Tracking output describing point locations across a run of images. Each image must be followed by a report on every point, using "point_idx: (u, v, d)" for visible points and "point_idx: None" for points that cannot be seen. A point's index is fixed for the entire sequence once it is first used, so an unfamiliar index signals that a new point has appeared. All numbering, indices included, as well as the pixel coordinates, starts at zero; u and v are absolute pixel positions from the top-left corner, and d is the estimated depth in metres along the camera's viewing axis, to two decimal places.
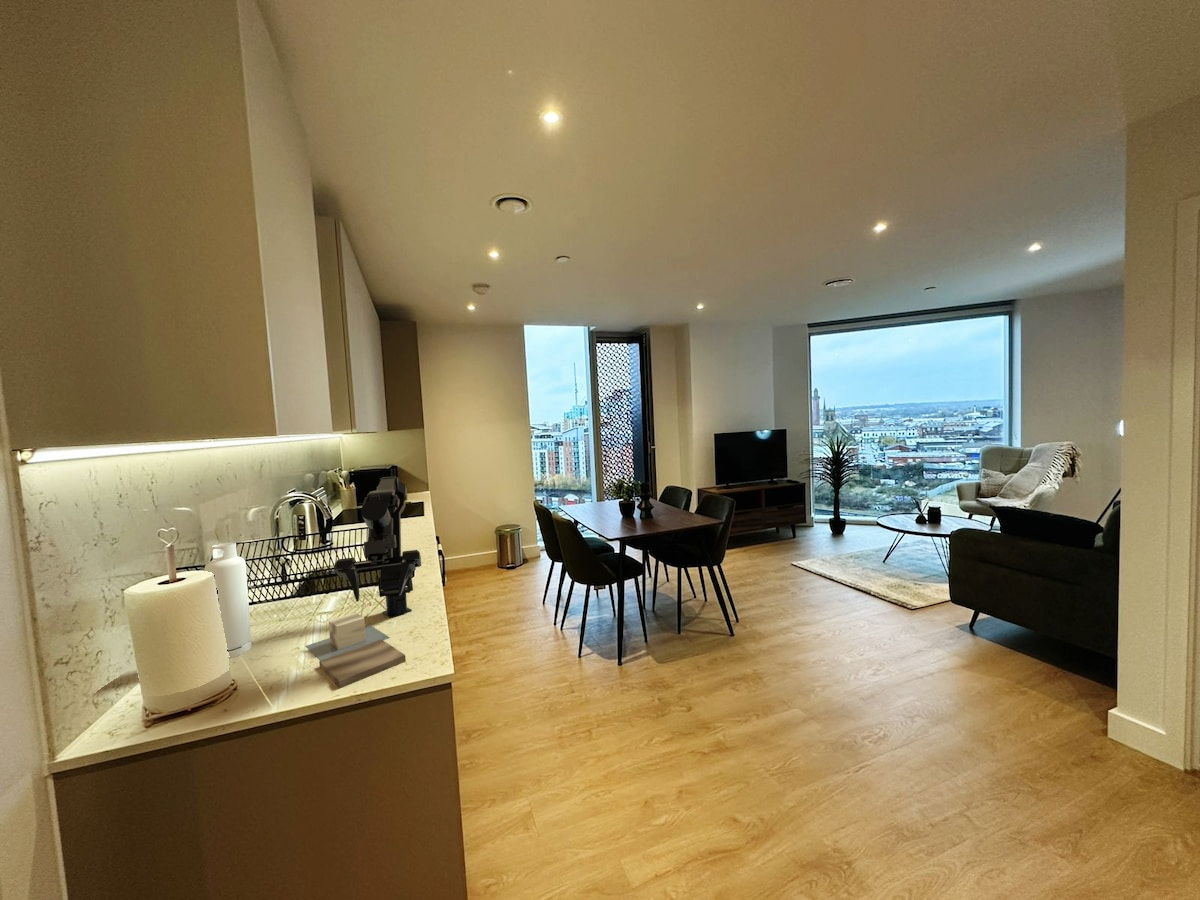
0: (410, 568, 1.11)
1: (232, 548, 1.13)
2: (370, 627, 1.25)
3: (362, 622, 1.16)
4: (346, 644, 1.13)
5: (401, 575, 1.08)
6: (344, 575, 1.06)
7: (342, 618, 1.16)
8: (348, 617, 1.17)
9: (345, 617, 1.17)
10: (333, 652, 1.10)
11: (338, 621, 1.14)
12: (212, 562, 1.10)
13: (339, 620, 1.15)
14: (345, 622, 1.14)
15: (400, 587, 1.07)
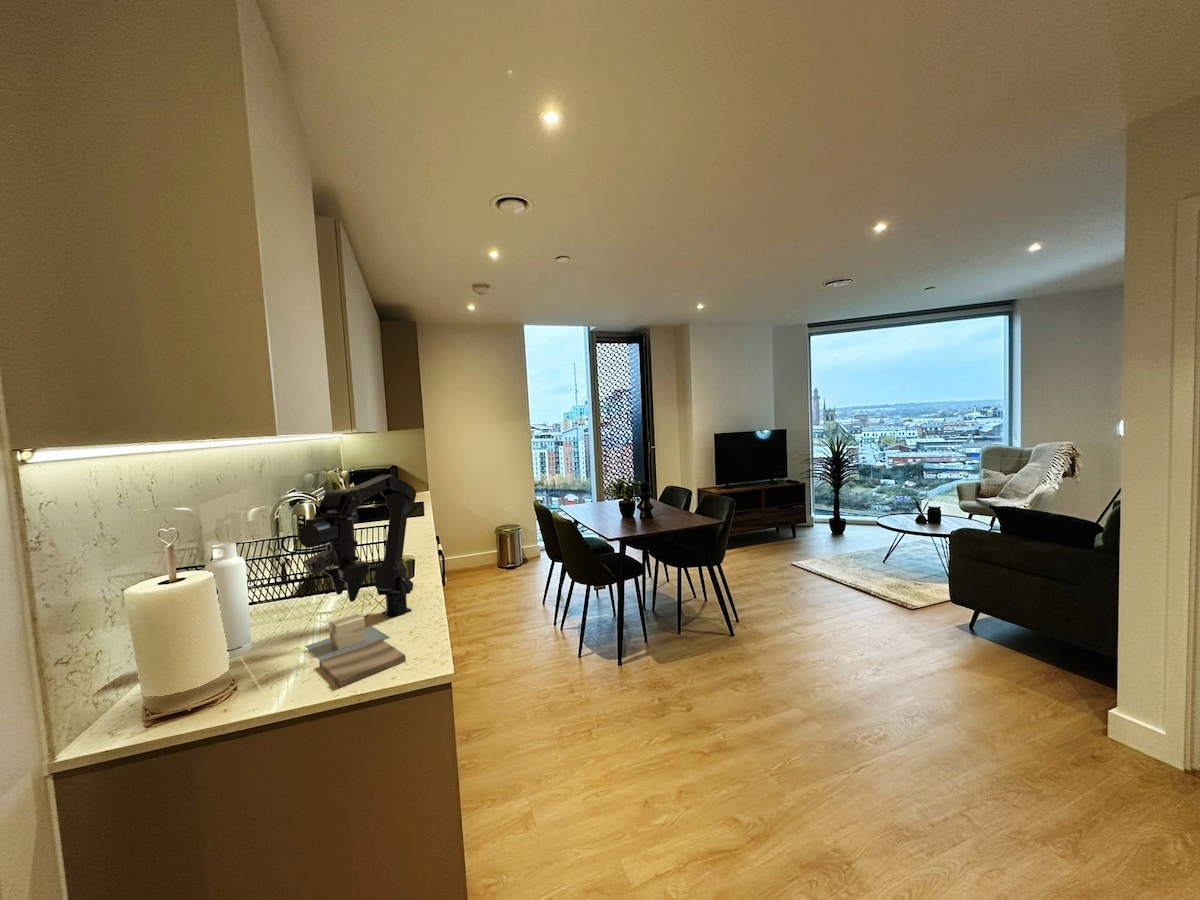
0: None
1: (232, 548, 1.13)
2: (370, 627, 1.25)
3: (362, 622, 1.16)
4: (346, 644, 1.13)
5: (346, 586, 1.11)
6: None
7: (342, 618, 1.16)
8: (348, 617, 1.17)
9: (345, 617, 1.17)
10: (333, 652, 1.10)
11: (338, 621, 1.14)
12: (212, 562, 1.10)
13: (339, 620, 1.15)
14: (345, 622, 1.14)
15: (348, 596, 1.12)
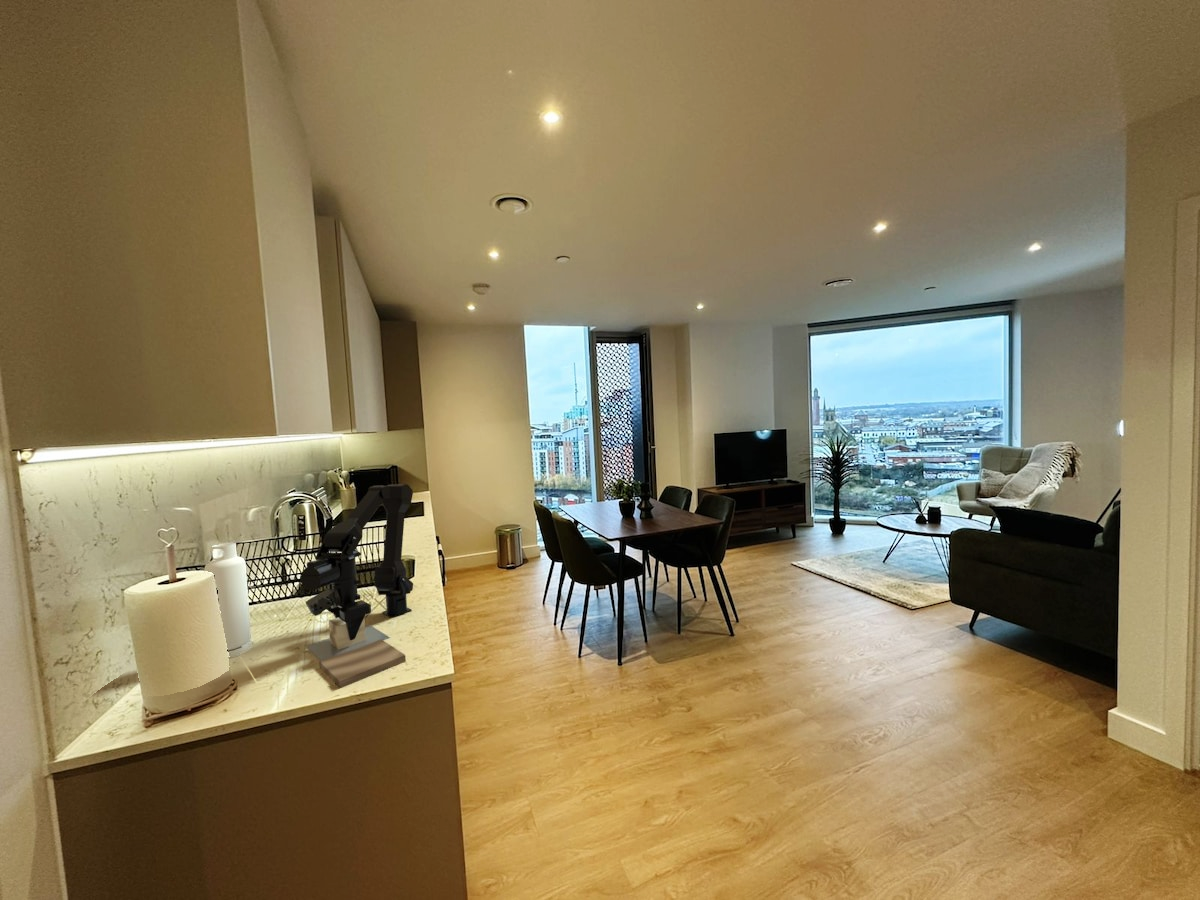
0: None
1: (232, 548, 1.13)
2: (370, 627, 1.25)
3: (362, 622, 1.16)
4: (346, 644, 1.13)
5: (346, 625, 1.12)
6: None
7: None
8: None
9: None
10: (333, 652, 1.10)
11: (338, 621, 1.14)
12: (212, 562, 1.10)
13: (339, 620, 1.15)
14: None
15: None
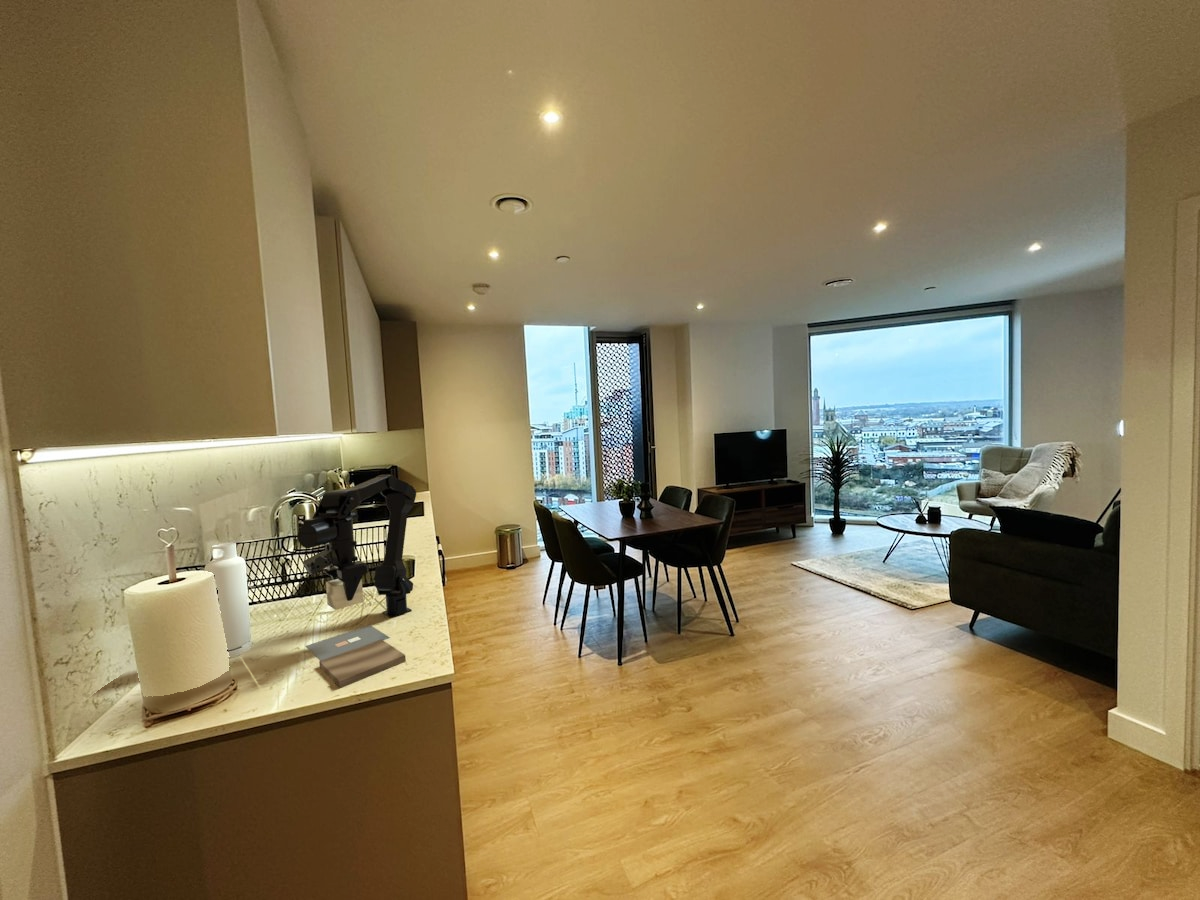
0: None
1: (232, 548, 1.13)
2: (370, 627, 1.25)
3: (359, 584, 1.15)
4: (343, 605, 1.12)
5: (343, 585, 1.12)
6: None
7: (339, 580, 1.16)
8: None
9: None
10: (333, 652, 1.10)
11: (335, 582, 1.14)
12: (212, 562, 1.10)
13: (336, 581, 1.15)
14: (342, 583, 1.13)
15: (346, 595, 1.13)
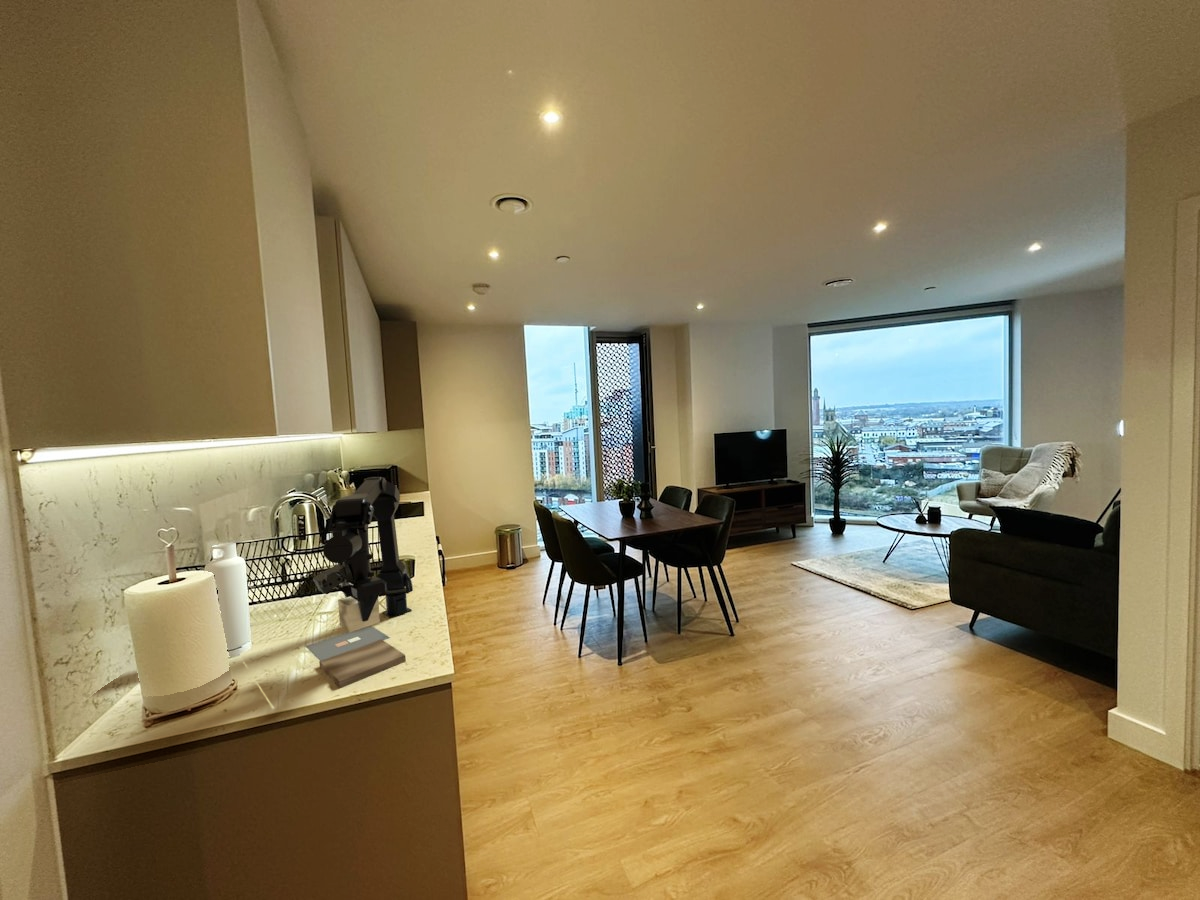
0: None
1: (232, 548, 1.13)
2: (370, 627, 1.25)
3: None
4: (358, 626, 1.00)
5: (358, 604, 1.00)
6: None
7: None
8: None
9: None
10: (333, 652, 1.10)
11: (349, 600, 1.02)
12: (212, 562, 1.10)
13: (350, 599, 1.03)
14: (357, 601, 1.01)
15: (361, 616, 1.00)
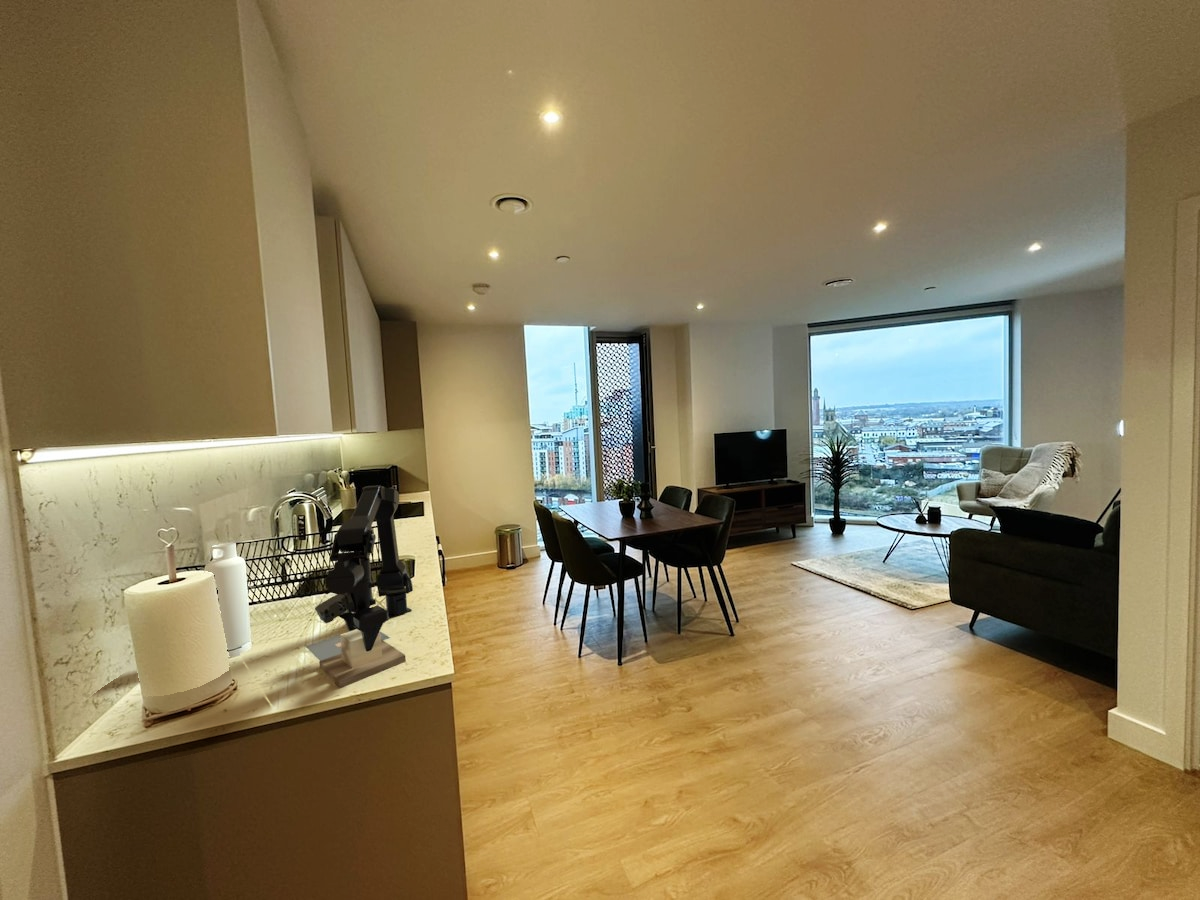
0: None
1: (232, 548, 1.13)
2: None
3: (378, 637, 1.03)
4: (361, 661, 1.00)
5: (362, 635, 0.99)
6: None
7: (355, 632, 1.04)
8: None
9: (359, 630, 1.05)
10: (333, 652, 1.10)
11: (351, 635, 1.02)
12: (212, 562, 1.10)
13: (352, 634, 1.03)
14: (359, 636, 1.01)
15: None
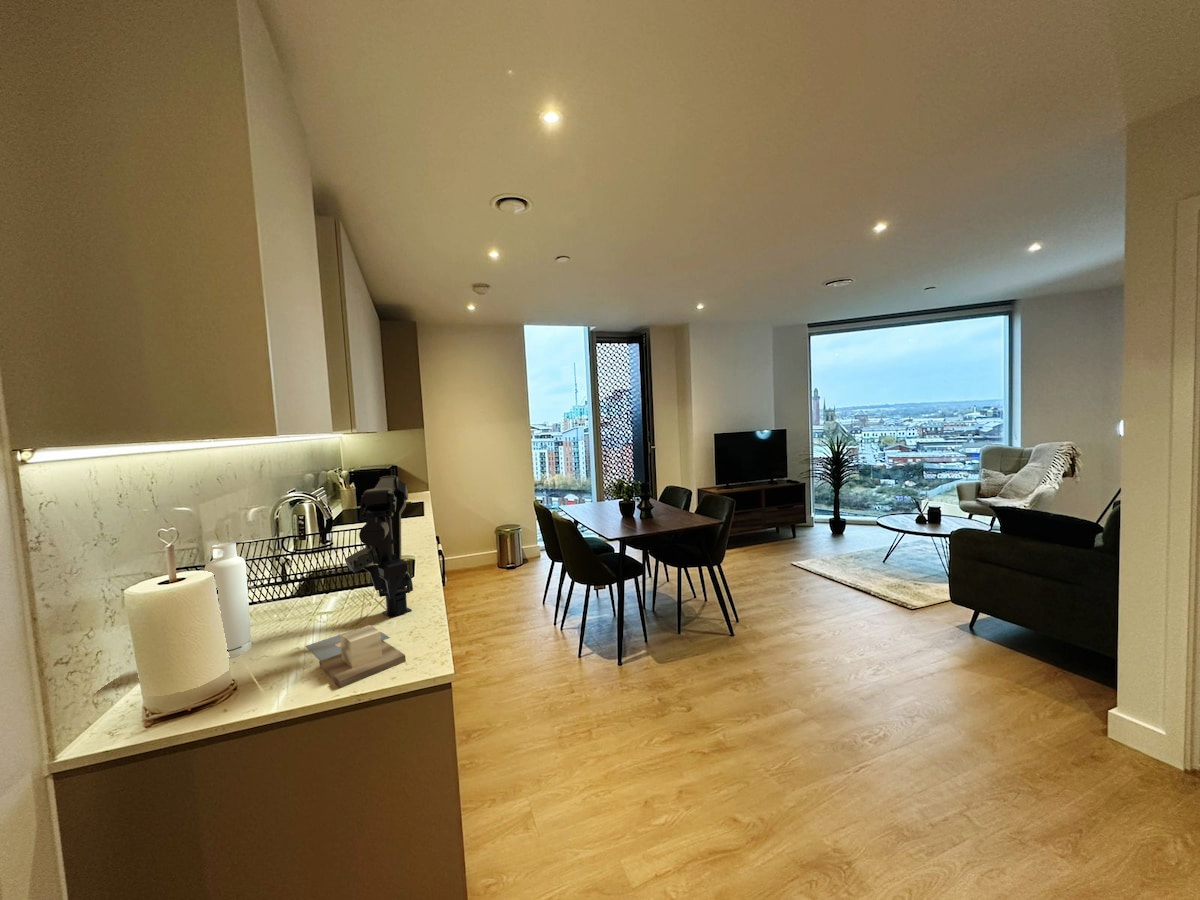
0: None
1: (232, 548, 1.13)
2: None
3: (378, 637, 1.03)
4: (361, 661, 1.00)
5: (386, 583, 1.13)
6: None
7: (355, 632, 1.04)
8: (362, 630, 1.05)
9: (359, 630, 1.05)
10: (333, 652, 1.10)
11: (351, 635, 1.02)
12: (212, 562, 1.10)
13: (352, 634, 1.03)
14: (359, 636, 1.01)
15: (388, 593, 1.14)
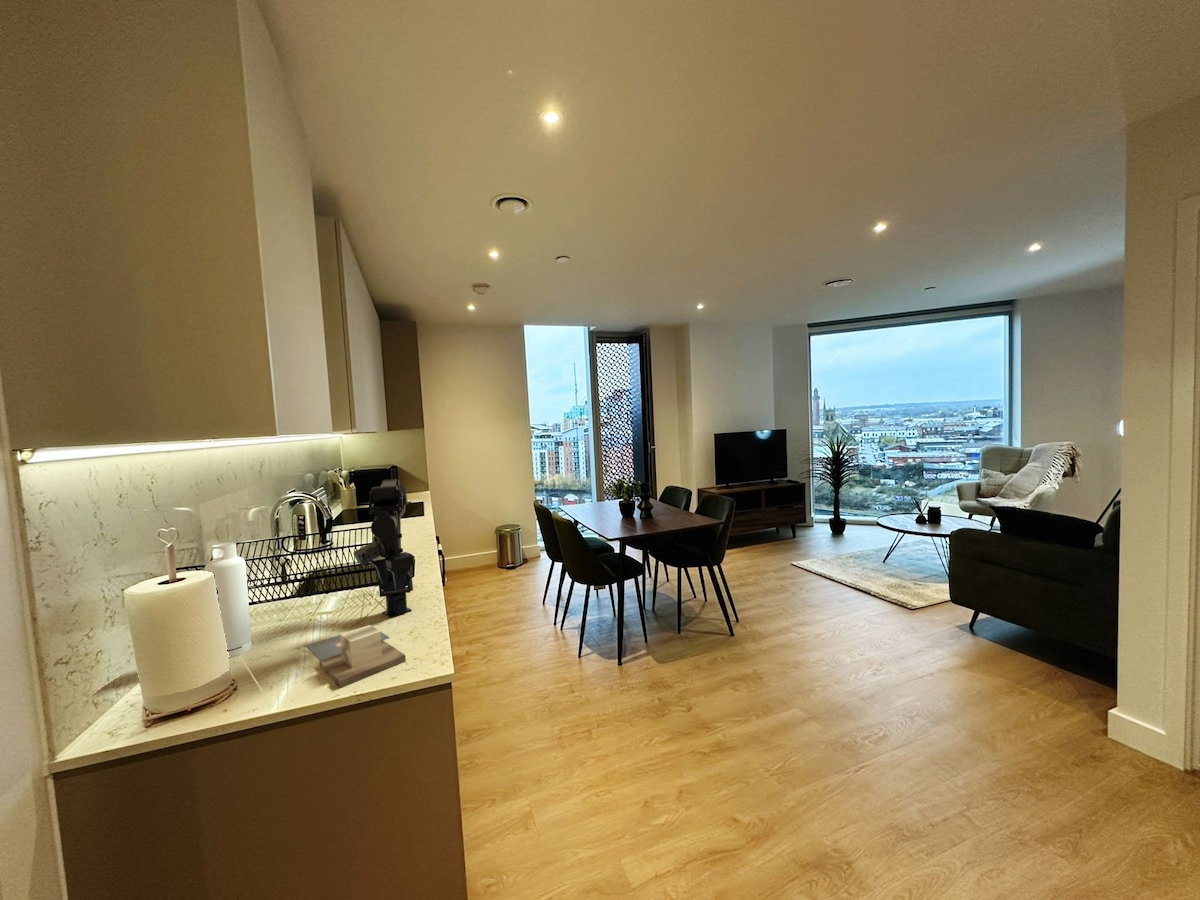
0: None
1: (232, 548, 1.13)
2: None
3: (378, 637, 1.03)
4: (361, 661, 1.00)
5: (393, 576, 1.18)
6: None
7: (355, 632, 1.04)
8: (362, 630, 1.05)
9: (359, 630, 1.05)
10: (333, 652, 1.10)
11: (351, 635, 1.02)
12: (212, 562, 1.10)
13: (352, 634, 1.03)
14: (359, 636, 1.01)
15: (395, 586, 1.18)
